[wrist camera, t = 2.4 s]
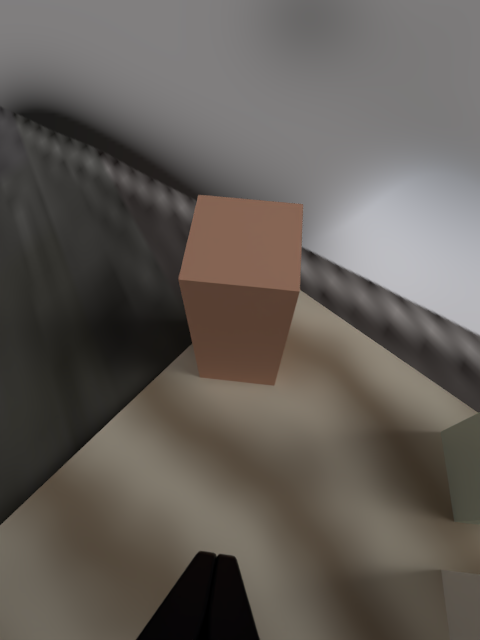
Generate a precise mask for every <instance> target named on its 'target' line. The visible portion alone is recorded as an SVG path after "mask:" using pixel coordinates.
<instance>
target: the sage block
mask: <svg viewBox="0 0 480 640" xmlns="http://www.w3.org/2000/svg"><path fill="white" fill-rule="evenodd" d="M441 438H442V444H443V451H444V457H445V464H446V471H447V477H448V484H449V490H450V497H451V503H452V510H453V517H454V522H460V523H469V524H477V525H480V412H479V413H477V414H475V415H473V416H471V417H469V418H467V419H465V420H463V421H461V422H459V423H457V424H455V425H453V426H451V427H449V428H447V429H445V430H443V431H441Z"/></svg>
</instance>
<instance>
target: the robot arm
mask: <svg viewBox="0 0 480 640" xmlns="http://www.w3.org/2000/svg"><path fill="white" fill-rule="evenodd" d="M136 640H260V638H259V635H258V631H257V628H256V624H255V621H254V617H253V614H252V610H251V607H250V603H249V600H248V596H247V593H246V589H245V586H244V582H243V579H242V575H241V572H240V569H239V565H238V562H237V559H236V557H235V556H233V555H226V554H218V556H216V554H215V553H213V552H207V551H199V552H198V553H197V554H196V555H195V556H194V558H193V559H192V561H191V562H190V563H189V565H188V566H187V568H186V569H185V571H184V572H183V573H182V575H181V576H180V578H179V579H178V580H177V582H176V583H175V585H174V586H173V588H172V589H171V590H170V592H169V593H168V595H167V596H166V597H165V599H164V600H163V602H162V603H161V605H160V606H159V607H158V609H157V610H156V612H155V613H154V614H153V616H152V617H151V619H150V620H149V622H148V623H147V624H146V626H145V627H144V629H143V630H142V631H141V633H140V634H139V636H138V637H137V639H136Z"/></svg>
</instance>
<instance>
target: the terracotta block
mask: <svg viewBox="0 0 480 640" xmlns="http://www.w3.org/2000/svg"><path fill="white" fill-rule="evenodd" d="M302 219H303V204H295V203H283V202H271V201H261V200H250V199H239V198H227V197H215V196H205V195H198V199H197V203H196V207H195V212H194V216H193V220H192V224H191V229H190V233H189V237H188V241H187V245H186V250H185V254H184V258H183V262H182V267H181V271H180V275H179V279H178V280H179V284H180V289H181V293H182V298H183V303H184V307H185V312H186V316H187V321H188V325H189V330H190V335H191V339H192V344H193V348H194V353H195V358H196V362H197V367H198V371H199V376H200V377H201V378H210V379H219V380H228V381H237V382H246V383H255V384H264V385H273V386H274V385H275V382H276V378H277V374H278V370H279V367H280V363H281V359H282V355H283V352H284V348H285V344H286V341H287V337H288V333H289V329H290V326H291V322H292V318H293V315H294V311H295V307H296V303H297V300H298V296H299V292H300V271H301V245H302V244H301V243H302Z"/></svg>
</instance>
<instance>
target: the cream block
mask: <svg viewBox="0 0 480 640" xmlns="http://www.w3.org/2000/svg"><path fill="white" fill-rule="evenodd" d="M441 574H442V581H443V589H444V597H445V605H446V612H447V620H448V628H449V636H450V640H480V574H472V573H464V572H457V571H449V570H441Z"/></svg>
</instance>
